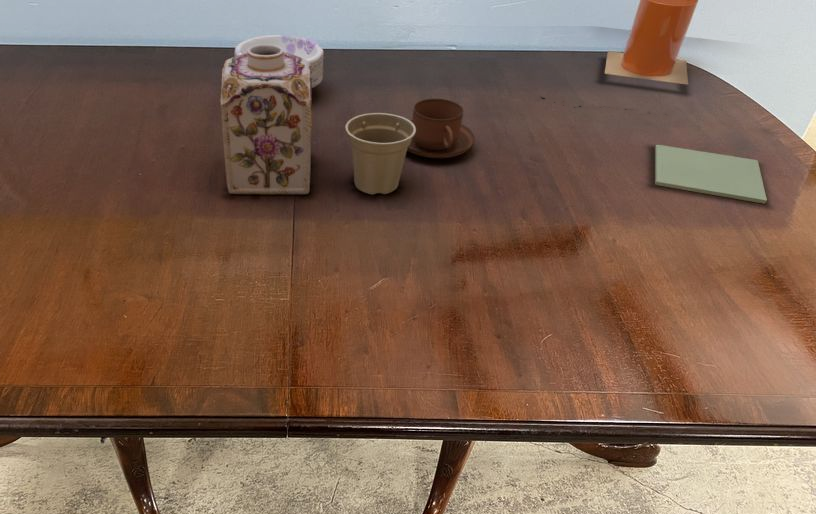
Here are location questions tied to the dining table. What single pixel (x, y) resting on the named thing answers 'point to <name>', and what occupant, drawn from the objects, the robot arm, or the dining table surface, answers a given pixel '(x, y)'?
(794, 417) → the dining table surface
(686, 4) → the canister
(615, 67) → the board
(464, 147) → the cup and saucer
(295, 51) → the white floral bowl
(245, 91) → the decorative jar
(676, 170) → the mat
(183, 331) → the dining table surface
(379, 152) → the flower pot
